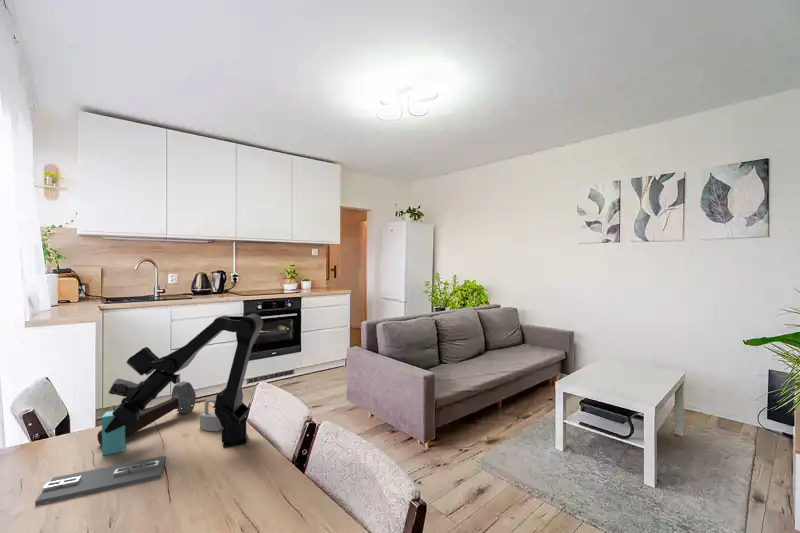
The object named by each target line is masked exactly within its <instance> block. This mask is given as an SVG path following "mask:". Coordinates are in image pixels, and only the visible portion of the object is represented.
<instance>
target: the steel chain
mask: <svg viewBox="0 0 800 533" xmlns="http://www.w3.org/2000/svg"><path fill="white" fill-rule="evenodd" d="M158 465H159V460H158V461H153V462H148V463H143V464H138V465H133V466H128V467H123V468H118V469H116V470H115V472H114V474H113V477H115V476H120V475H125V474H130V473H135V472H139V471H144V470H149V469H154V468H158ZM80 480H81V476H78V477H73V478H68V479H63V480H58V481H53V482H50V481H49V482H46V483H45V484H44V485H43V487H42V488H41V489H42V492H43V491H48V490H53V489H58V488H62V487H67V486H72V485H77V484H78V483H79V482H80ZM42 492H41V493H42Z"/></svg>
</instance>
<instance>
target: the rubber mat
mask: <svg viewBox="0 0 800 533" xmlns="http://www.w3.org/2000/svg"><path fill="white" fill-rule="evenodd" d="M166 458H167V456H166V455H162V456H156V457H152V458H147V459H141V460H136V461H132V462H127V463H121V464H120V463H119V464H116V465H111V466H106V467H105V466H104V467H101V468H95V469H92V470H91V469H90V470H85V471H80V472H75V473H69V474H64V475H60V476H54V477H52V479H51V480H50V481H49V482H53V481H58V480H63V479H68V478H73V477H78V476H81V480H80V482H79V483H78V484H77V485H72V486H67V487H62V488H58V489H53V490H48V491H43V492H41V493H40V494H39V495H38V497H37V499H35V501H34V506H39V505H38V504H40V505H44V504H47V503H46V502H49V503H52V502H53V503H54V502H58V501H61V500H66V499H67V500H68V499H70V498H75V497H81V496H85V495H90V494H94V493H98V492H103V491H107V490H108V491H109V490H113V489H117V488H122V487H126V486H130V485H131V486H132V485H135V484H140V483H144V482H145V483H146V482H148V481H149V482H150V481H153V480H154V481H155V480H159V479H161V477H162V474H163V470H164V468H165V467H164V466H165V463H166V460H167V459H166ZM158 460H159V465H158V468H154V469H149V470H144V471H139V472H135V473H130V474H125V475H120V476H115V477H113V474H114V472H115V470H116V469H118V468H123V467H128V466H133V465H138V464H143V463H148V462H153V461H158ZM43 503H44V504H43Z"/></svg>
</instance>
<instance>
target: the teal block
mask: <svg viewBox="0 0 800 533" xmlns="http://www.w3.org/2000/svg"><path fill="white" fill-rule="evenodd" d="M113 411H114V410H111V411H110V410H109V411H106V412H104V414H103V416H102V417H101V430H102V445H101V451H102V452H101V454H102V456H106V455H111V454H118V453H122V452H123V450H124V448H125V447H126V438H125V425H124V426H122V427H120V428H117V429H115V430H113V431H111V432H109V433H106V432H104V430H105V429H106V428H107V426H108V425H109V424H110V422H111V421H112V420H113V418H114V417H115V416H114V415H113V414H112V413H113Z"/></svg>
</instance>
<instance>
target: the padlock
mask: <svg viewBox="0 0 800 533" xmlns="http://www.w3.org/2000/svg"><path fill="white" fill-rule="evenodd" d="M209 403H213V404H214V405H215V403H216V398H208V399H206V400H205V403H204V412H203V413H200V414H199V430H202V431H203V430H204V431H206V432H218V431H221V430H222V426H221V423H220V421H219V418H218V417H217V416H216V415H215V411H209V405H210V404H209Z"/></svg>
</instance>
